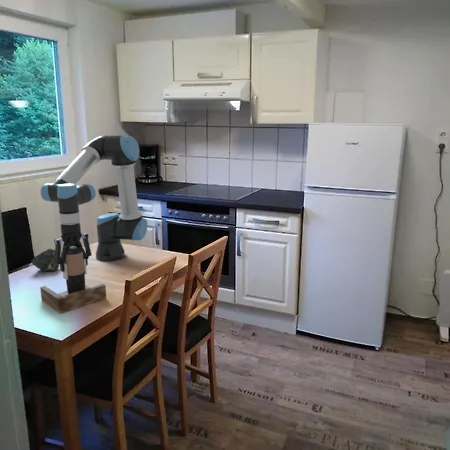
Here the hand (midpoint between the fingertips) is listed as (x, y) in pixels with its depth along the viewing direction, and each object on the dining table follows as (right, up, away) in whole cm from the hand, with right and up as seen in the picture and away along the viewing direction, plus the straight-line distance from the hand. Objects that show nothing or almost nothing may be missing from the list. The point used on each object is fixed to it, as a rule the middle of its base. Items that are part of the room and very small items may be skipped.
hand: (75, 275), depth 182 cm
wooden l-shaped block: (0, -10, 0) cm, 10 cm away
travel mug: (0, -7, +2) cm, 7 cm away
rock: (-25, -2, +33) cm, 41 cm away
